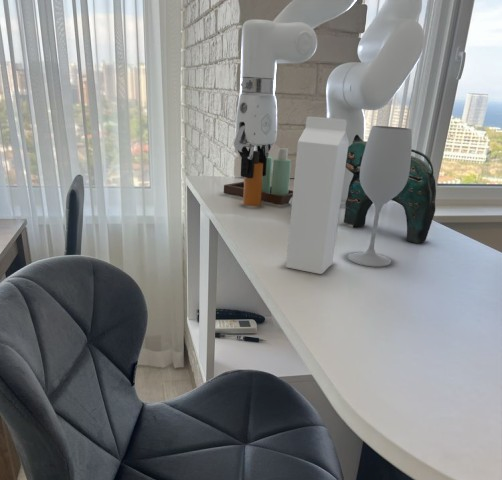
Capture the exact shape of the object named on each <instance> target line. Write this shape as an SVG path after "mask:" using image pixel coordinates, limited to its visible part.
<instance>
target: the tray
mask: <svg viewBox="0 0 502 480" xmlns="http://www.w3.org/2000/svg"><path fill="white" fill-rule="evenodd" d="M271 189H272V185H270V193H266V192H262V193H261V202H265V203H269V204H275V205H279V206H284V205H287V204H289V201H290V199H291V197H293V190H291V189H289V191H288V194H285V195H277V194H271ZM223 194H226V195H231V196H236V197H241V198H243V194H244V181H239V182H232V183H227V184H223Z"/></svg>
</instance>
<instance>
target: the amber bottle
mask: <svg viewBox="0 0 502 480" xmlns="http://www.w3.org/2000/svg"><path fill="white" fill-rule="evenodd" d="M252 160H254V174H253V178H246V177H243V182H244V194H243V197H242V204H243V205H245V206H250V207H258V206H261V205H262V201H261V193H262V175H263V163H261V162H259V151H256V150H254V151H253V158H252Z"/></svg>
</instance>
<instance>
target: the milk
mask: <svg viewBox="0 0 502 480" xmlns="http://www.w3.org/2000/svg"><path fill="white" fill-rule="evenodd" d="M346 125H347V121H346V120H345V119H334V118H327V117H321V116H309V115H308V116H307V117H306V121H305V128H304V129H303V131H302V133H301V134H300V137H299V138H298V140H297V146H296V147H297V148H296V157H295V169H294V178H293V179H294V180H293V190H292V191H293V198H292V205H291V210H290V221H289V230H288V239H287V240H288V243H287V250H286V252H287V253H286V261H285V267H286V268H287V269H293V270H298V271H304V272H308V273H313V274H317V275H323V273H325V271H327V270H328V269H329V268H330V267H331V266H332V265H333V260H334V253H335V245H336V238H337V231H338V225H339V216H340V210H341V205H340V203H341V196H342V188H343V181H344V174H345V167H346V159H347V152H348V145H349V141H348V138H347V134H346Z"/></svg>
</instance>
